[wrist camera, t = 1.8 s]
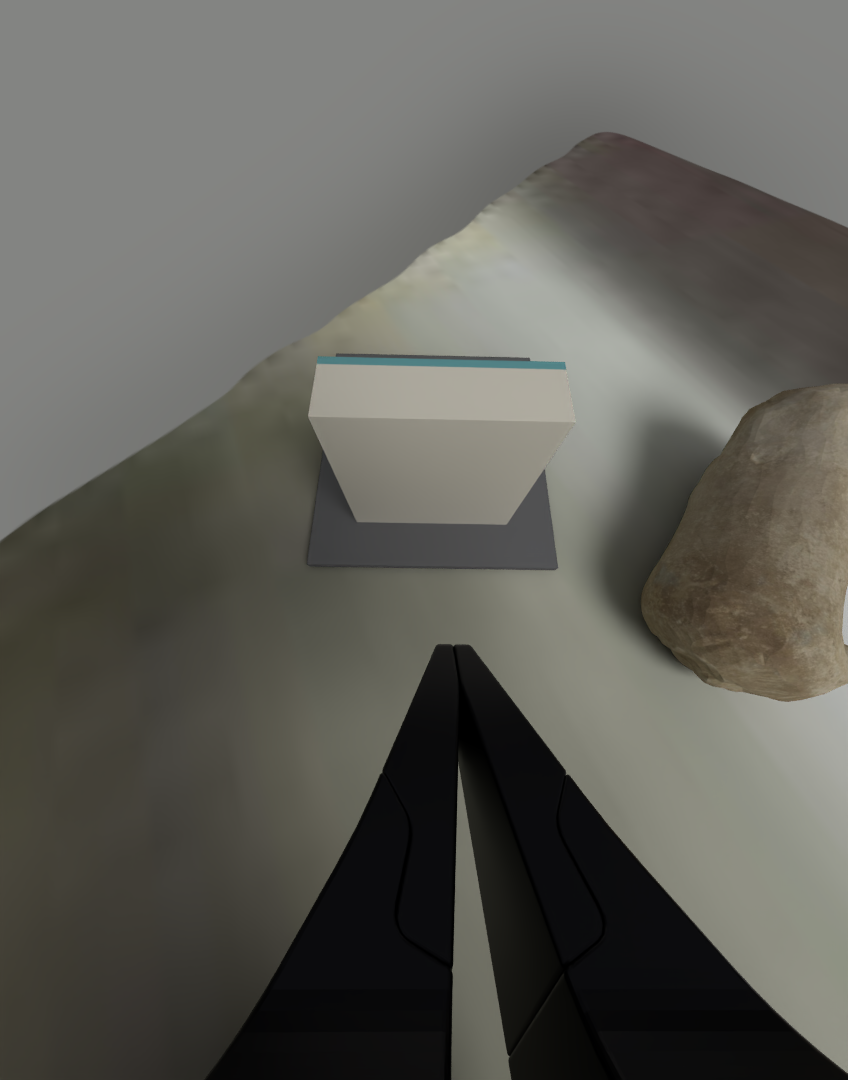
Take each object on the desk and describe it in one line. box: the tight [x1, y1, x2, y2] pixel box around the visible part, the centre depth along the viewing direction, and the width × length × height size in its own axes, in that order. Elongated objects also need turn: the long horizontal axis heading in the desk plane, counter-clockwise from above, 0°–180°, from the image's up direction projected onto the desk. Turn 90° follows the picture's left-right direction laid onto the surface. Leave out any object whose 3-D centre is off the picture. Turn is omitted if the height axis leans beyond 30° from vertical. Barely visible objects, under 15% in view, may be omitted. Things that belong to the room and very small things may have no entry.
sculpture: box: [641, 384, 848, 702], centre depth 18 cm, size 9×17×10 cm
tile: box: [308, 356, 576, 525], centre depth 17 cm, size 3×10×10 cm, turn 89°
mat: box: [307, 354, 558, 570], centre depth 24 cm, size 18×16×1 cm
